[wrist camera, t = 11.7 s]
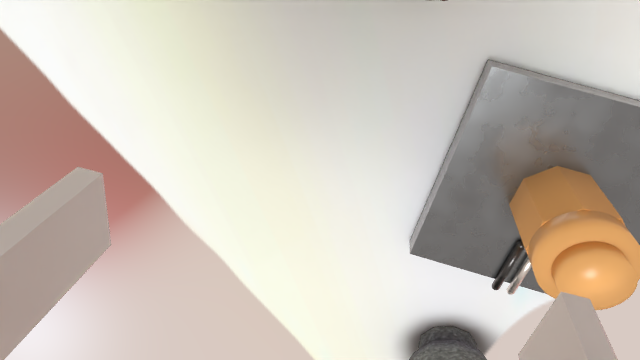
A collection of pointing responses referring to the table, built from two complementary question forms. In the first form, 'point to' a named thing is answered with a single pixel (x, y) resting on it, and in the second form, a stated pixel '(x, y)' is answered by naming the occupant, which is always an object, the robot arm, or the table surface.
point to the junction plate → (524, 167)
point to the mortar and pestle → (447, 345)
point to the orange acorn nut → (575, 238)
